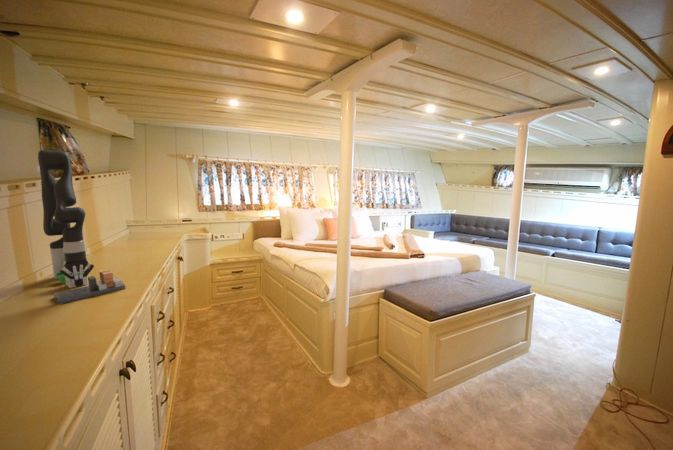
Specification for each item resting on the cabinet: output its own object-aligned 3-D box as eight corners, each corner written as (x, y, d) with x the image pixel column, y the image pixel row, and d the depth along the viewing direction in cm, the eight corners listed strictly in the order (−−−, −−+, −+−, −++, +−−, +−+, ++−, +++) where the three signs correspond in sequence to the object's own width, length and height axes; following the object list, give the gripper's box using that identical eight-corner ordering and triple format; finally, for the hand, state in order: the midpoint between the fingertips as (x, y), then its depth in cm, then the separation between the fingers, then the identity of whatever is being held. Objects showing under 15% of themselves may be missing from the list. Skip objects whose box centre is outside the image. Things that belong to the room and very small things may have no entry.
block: (114, 286, 150) (112, 272, 149) (105, 287, 147) (103, 274, 146) (109, 282, 155) (107, 269, 154) (100, 284, 152) (99, 271, 151)
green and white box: (61, 285, 157) (58, 264, 156) (55, 282, 162) (52, 261, 160) (88, 279, 167) (86, 259, 165) (81, 276, 171) (79, 257, 170)
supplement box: (69, 288, 152) (66, 264, 150) (66, 285, 157) (62, 261, 155) (88, 284, 158) (85, 261, 156) (84, 281, 163) (81, 258, 161)
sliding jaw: (87, 286, 150) (86, 275, 149) (99, 283, 153) (98, 273, 153) (94, 291, 142) (92, 280, 141) (106, 288, 146) (105, 278, 145)
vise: (53, 297, 140) (52, 288, 140) (117, 283, 159) (116, 275, 159) (59, 304, 133) (57, 294, 132) (125, 288, 152) (124, 280, 151)
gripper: (57, 254, 132) (62, 292, 135) (94, 249, 143) (99, 284, 145) (53, 252, 137) (58, 288, 140) (90, 247, 147) (94, 281, 150)
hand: (79, 286), depth 142 cm, fingers closed
